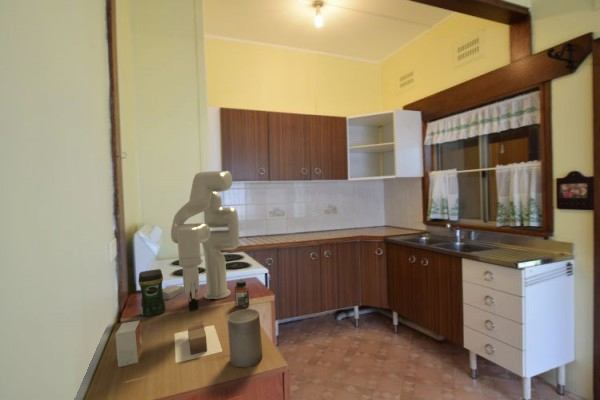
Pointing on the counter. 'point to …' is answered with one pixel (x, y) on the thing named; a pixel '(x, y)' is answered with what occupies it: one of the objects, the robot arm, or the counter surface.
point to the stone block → (172, 291)
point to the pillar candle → (244, 337)
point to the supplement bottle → (241, 294)
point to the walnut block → (197, 338)
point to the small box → (128, 343)
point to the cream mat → (184, 348)
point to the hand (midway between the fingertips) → (193, 309)
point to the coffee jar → (151, 292)
